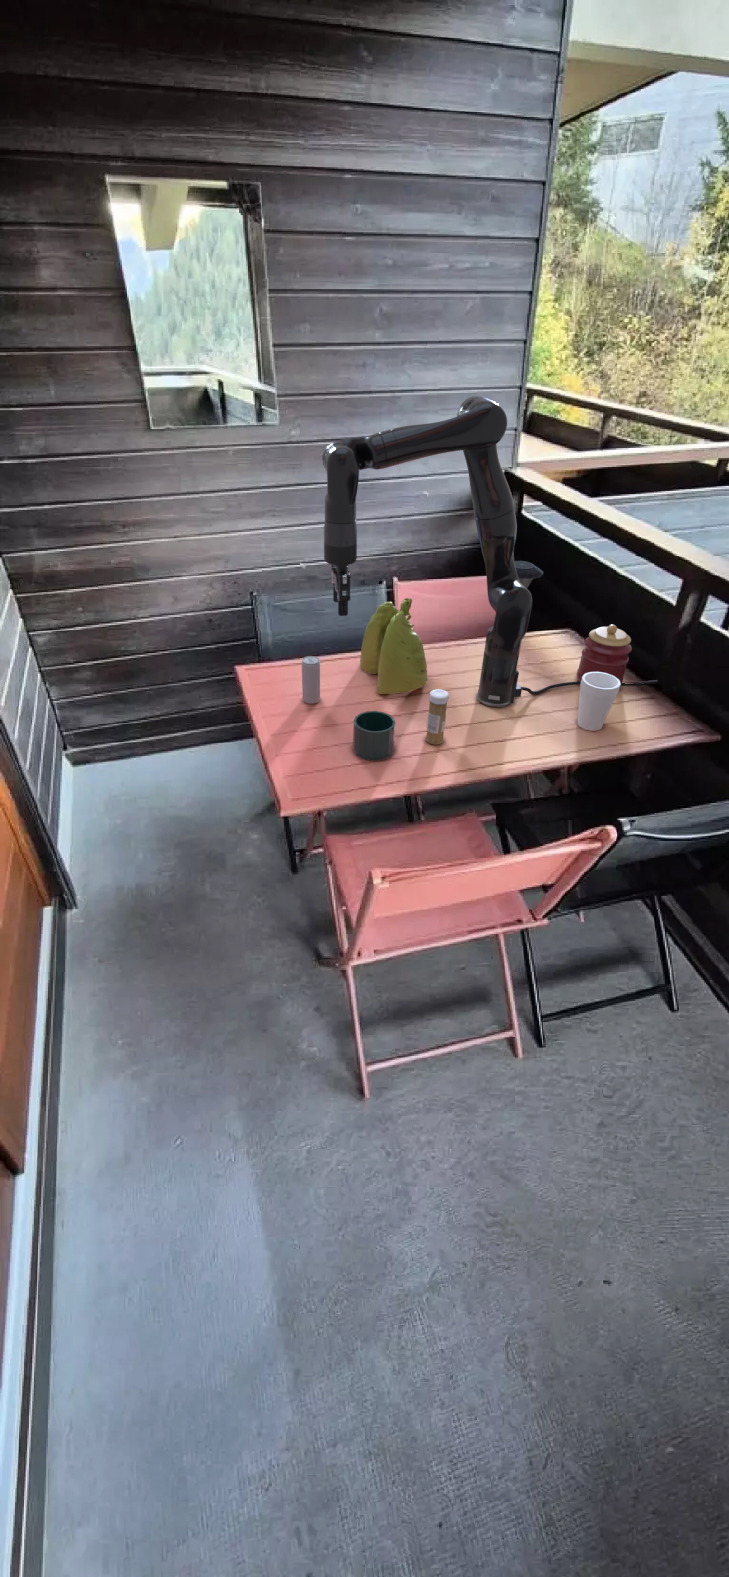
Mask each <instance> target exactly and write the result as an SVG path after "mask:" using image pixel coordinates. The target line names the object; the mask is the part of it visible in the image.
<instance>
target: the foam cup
mask: <svg viewBox="0 0 729 1577" xmlns="http://www.w3.org/2000/svg"><path fill="white" fill-rule="evenodd" d="M579 686H580V689H579V690H580V691H579V702H578V713H577V725H578V727H580V728H581V729H583V730H585V731H591V732H593V731H600V730H601V729H602V728H603V726H604V724H605V721H606V720H607V718H608V715H609V712H610V710H611V708H612V706H613V703H614V702H615V699H616V697H617V695H618V693H619V691H620V688H621V683H620V681H619V679H617V678H616V677H615V676H613V675H610V674H607V673H603V672H589V673H586V674H584V675H583V677H582V680H581V684H580V685H579Z"/></svg>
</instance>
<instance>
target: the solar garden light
mask: <svg viewBox="0 0 729 1577" xmlns="http://www.w3.org/2000/svg"><path fill="white" fill-rule="evenodd" d="M514 563H515V567H516V571H517V575H518V578H519V581H520V582H521V583H522V584H523V585H524V586H525V587H526V588H527V589H528V588H529V586H530V584H531V583H532V581H533V580H534V579H538V578H542V576H543V575H544V571H543V570H542V569H540V568H539V567H538V566H536V565H535V564H533V563H532V562H529V561H525V560H514Z"/></svg>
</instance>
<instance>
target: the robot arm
mask: <svg viewBox="0 0 729 1577" xmlns="http://www.w3.org/2000/svg"><path fill="white" fill-rule="evenodd" d="M507 428H508V416H507V414H506V412H505V410H504V408H503V407H502V406H501V405H499V403H496V401H493V400H491V399H489V398H486V397H484V396H480V395H474V396H470V397H468V398H466V399H465V400H464V401H463V402H462V403H461V404H460V406H459V408H458V410H457V413H456V416H454V417H452V418H449V419H445V420H441V421H440V420H439V421H435V422H429V423H421V424H411V425H403V426H399V427H393V428H391V429H387V430H384V431H379V432H376V433H374V434H369V435H364V436H355V437H347V438H343V439H337V440H335V441H333V442H331V443H329V444H328V445H327V446H326V447H325V449H324V450H323V452H322V458H321V462H322V466H323V468H324V470H325V471H326V482H327V483H326V490H327V491H326V495H325V497H324V524H323V560H324V562H326V563H327V564H329V565H330V566H331V567H330V580H331V585H332V600H333V602H334V603H337V614H338V616H339V617H346V616H348V614H349V601H351V572H350V570H349V567H348V566H349V565H353V564H355V563H356V561H357V558H358V527H357V494H358V489H359V488H358V487H359V481H360V471H362V470H363V471H364V470H366V469H370V470H371V469H372V470H379V471H380V470H384V469H388V468H391V467H394V466H399V465H402V464H405V463H408V462H412V461H417V460H420V459H423V458H428V457H432V456H436V455H441V454H445V453H452V452H453V453H454V452H459V451H462V452H463V456H464V459H465V463H466V467H467V472H468V481H469V488H470V489H469V490H470V495H471V501H472V507H473V516H474V520H475V525H476V530H477V536H478V539H479V544H480V548H481V553H482V557H483V560H484V565H485V575H486V589H487V590H486V591H487V600H488V603H489V605H490V607H491V609H492V610H493V611H494V612H495V616H494V621H493V626H491V627H489V628H488V629H487V631H486V637H485V643H484V648H483V655H482V656H483V657H482V663H481V671H480V676H479V677H480V678H479V683H478V689H477V693H476V694H477V695H476V699H477V701H478V703H480V704H482V705H484V706H487V707H491V708H504V707H507V706H510V705H511V704H514V703H515V698H520V697H522V691H524V692H528V694H530V695H534V696H535V695H540V694H542V693H544V692H546V691H548V690H551V689H555V688H559V687H560V688H561V687H567V686H578V685H579V686H580V684H581V682H580V681H577V680H576V681H567V682H559V683H554V684H550V685H548V686H545V687H543V688H541V689H539V690H532V689H531V688H529V687H526V686H521V685H520V684H519V683H518V681H519V676H520V671H519V670H518V663H519V658H520V652H521V647H522V642H523V639H524V638H525V636H526V634H527V630H528V626H529V623H530V619H531V613H532V609H533V608H532V607H533V597H532V593H531V591H530V590H529V589H528V588H526V587H525V586H524V585H523V584H522V583H521V582H520V581H519V578H518V575H517V571H516V567H515V563H514V561H515V556H514V555H515V554H514V551H515V544H516V540H517V532H518V529H517V528H518V524H517V515H516V508H515V504H514V498H513V495H512V492H511V489H510V486H509V483H508V481H507V478H506V475H505V473H504V471H503V468H502V466H501V463H500V458H499V454H498V447H497V446H498V445H497V444H498V443H499V442H500V441H501V440H502V439H503V437H504V436H505V434H506V432H507ZM343 592H344V593H345V594H343ZM644 682H645V683H644V684H645V685H643V684H642V683H633V684H625V683H622V684H621V685H620V687H622V686H625V687H626V686H627V687H628V686H629V687H632V686H633V687H634V686H646V685H654V684H655V685H656V684H658V683H659V681H658V680H657V679H656V680H655V679H654V680H645V681H644Z"/></svg>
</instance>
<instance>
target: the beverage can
mask: <svg viewBox="0 0 729 1577" xmlns="http://www.w3.org/2000/svg"><path fill="white" fill-rule="evenodd" d="M301 684H302V685H301V688H302V692H301V693H302V701H303V702H304V703H305V704H309V705H314V704H317V703H318V702H320V701H321V661H320V658H319V657H317V656H314V655H308V656H304V657H302V658H301Z"/></svg>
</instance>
